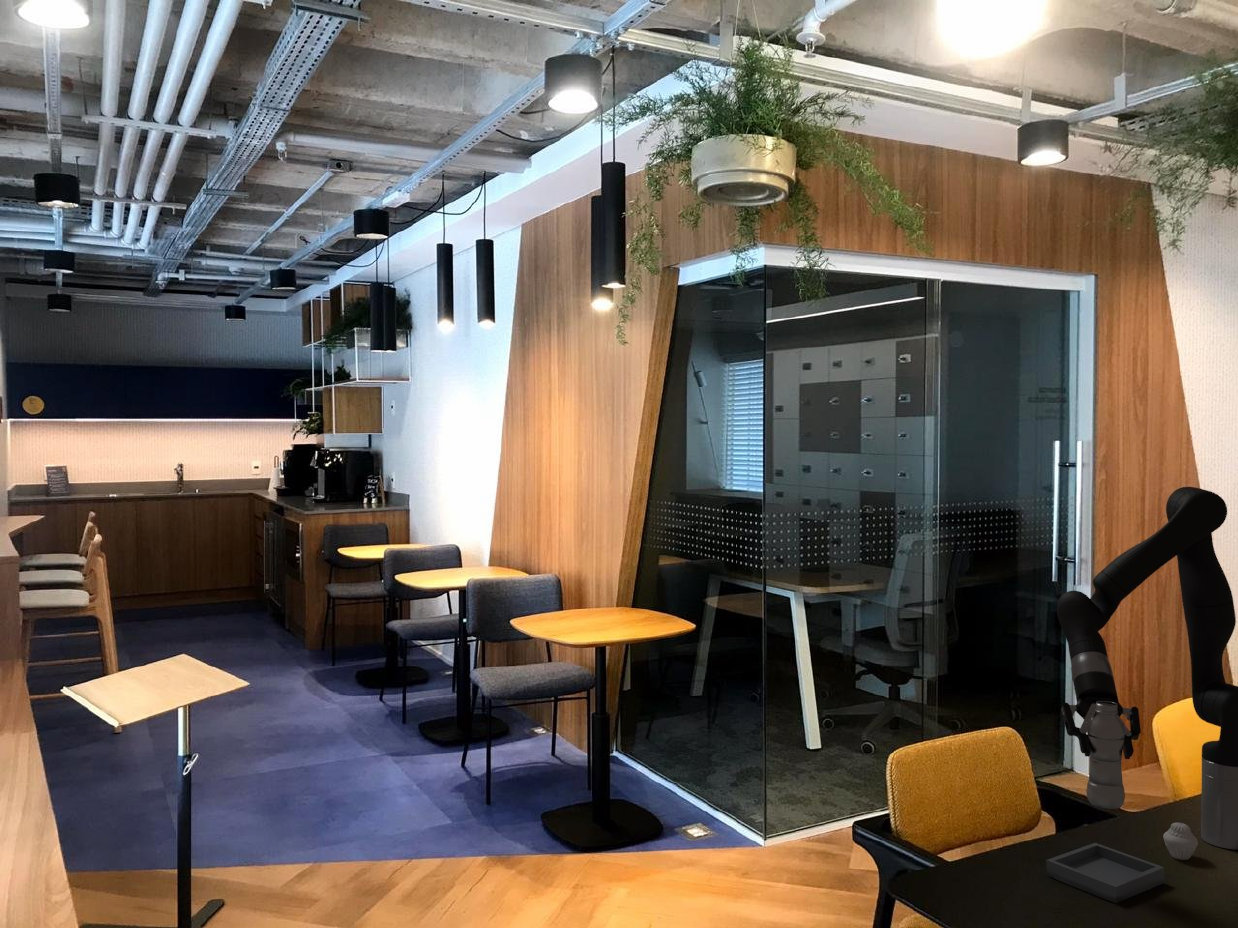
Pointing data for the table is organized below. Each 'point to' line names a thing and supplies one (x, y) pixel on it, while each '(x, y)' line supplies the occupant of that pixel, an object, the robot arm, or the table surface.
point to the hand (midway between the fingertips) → (1108, 755)
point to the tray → (1105, 872)
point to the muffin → (1180, 841)
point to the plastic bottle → (1105, 757)
